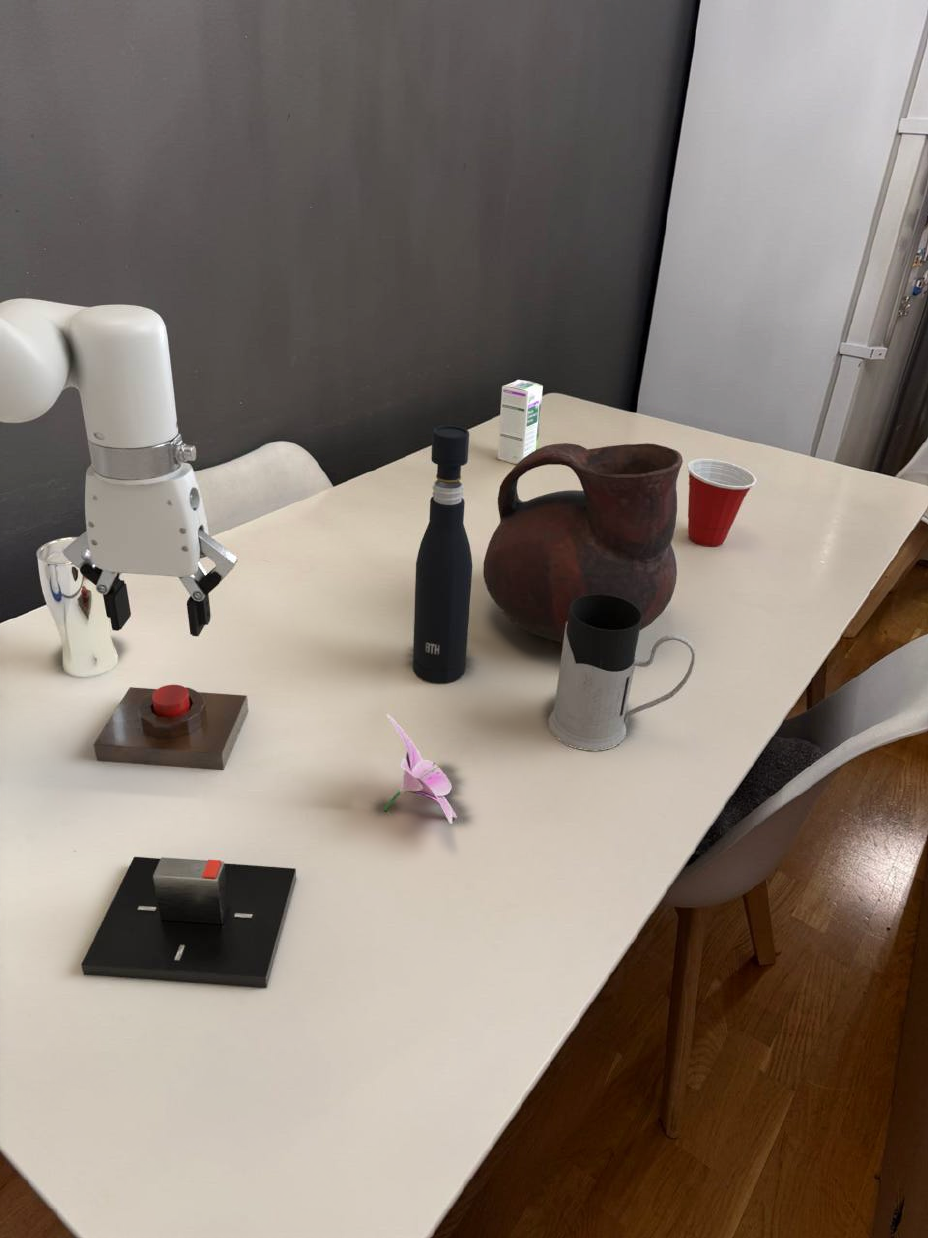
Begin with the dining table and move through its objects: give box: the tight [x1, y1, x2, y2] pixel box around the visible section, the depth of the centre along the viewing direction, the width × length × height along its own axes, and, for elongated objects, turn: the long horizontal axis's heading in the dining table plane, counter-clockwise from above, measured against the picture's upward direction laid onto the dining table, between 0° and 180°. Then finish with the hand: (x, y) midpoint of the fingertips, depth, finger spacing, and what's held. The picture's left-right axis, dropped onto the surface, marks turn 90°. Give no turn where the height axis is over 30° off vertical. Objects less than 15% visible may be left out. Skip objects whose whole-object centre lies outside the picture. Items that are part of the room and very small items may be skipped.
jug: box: [482, 442, 684, 644], centre depth 113 cm, size 25×25×25 cm
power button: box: [152, 684, 190, 717], centre depth 92 cm, size 4×4×2 cm
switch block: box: [93, 686, 249, 771], centre depth 93 cm, size 13×10×4 cm
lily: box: [382, 712, 458, 824], centre depth 84 cm, size 12×12×10 cm
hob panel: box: [80, 856, 297, 989], centre depth 72 cm, size 14×11×3 cm
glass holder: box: [548, 594, 696, 751], centre depth 95 cm, size 9×14×15 cm, turn 73°
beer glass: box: [36, 536, 119, 678], centre depth 100 cm, size 7×7×15 cm
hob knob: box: [153, 857, 229, 924], centre depth 70 cm, size 5×2×5 cm, turn 88°
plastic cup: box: [687, 458, 758, 547], centre depth 141 cm, size 11×11×12 cm
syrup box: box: [497, 379, 544, 465], centre depth 167 cm, size 6×6×14 cm
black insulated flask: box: [412, 425, 473, 685], centre depth 100 cm, size 6×6×30 cm
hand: (160, 625), depth 87 cm, fingers open, 7 cm apart
